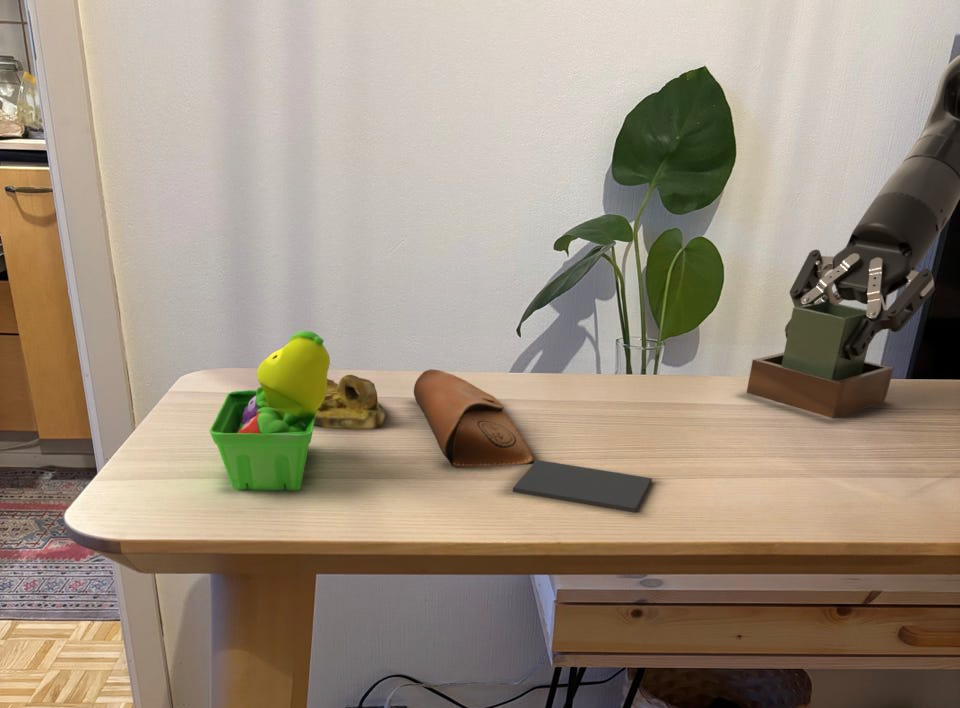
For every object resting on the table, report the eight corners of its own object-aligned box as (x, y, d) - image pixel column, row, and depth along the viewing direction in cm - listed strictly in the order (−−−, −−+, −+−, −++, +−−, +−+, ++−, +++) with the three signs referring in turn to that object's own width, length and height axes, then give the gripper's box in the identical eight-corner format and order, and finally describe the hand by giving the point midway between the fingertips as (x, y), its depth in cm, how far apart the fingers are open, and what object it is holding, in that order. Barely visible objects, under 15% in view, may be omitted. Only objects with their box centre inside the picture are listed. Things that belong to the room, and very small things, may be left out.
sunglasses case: (542, 460, 82) (507, 394, 78) (471, 502, 82) (434, 439, 79) (494, 398, 97) (463, 341, 93) (435, 434, 98) (402, 379, 94)
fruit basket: (233, 447, 83) (221, 313, 77) (336, 448, 84) (332, 316, 78) (214, 497, 73) (198, 348, 67) (330, 498, 74) (325, 351, 68)
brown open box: (799, 384, 109) (807, 346, 107) (883, 407, 102) (893, 368, 100) (745, 398, 103) (752, 359, 100) (831, 424, 96) (840, 383, 94)
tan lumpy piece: (238, 414, 94) (347, 449, 86) (229, 367, 91) (340, 399, 83) (307, 385, 100) (415, 415, 92) (300, 340, 97) (411, 367, 89)
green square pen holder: (806, 385, 106) (824, 301, 101) (855, 399, 102) (877, 312, 97) (775, 394, 102) (793, 307, 98) (825, 408, 98) (845, 318, 94)
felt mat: (651, 484, 80) (652, 477, 79) (635, 515, 74) (636, 508, 74) (536, 466, 82) (536, 459, 82) (512, 494, 76) (512, 487, 76)
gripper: (836, 182, 101) (749, 310, 100) (970, 198, 92) (875, 339, 91) (851, 233, 107) (768, 355, 106) (978, 253, 97) (888, 386, 97)
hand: (818, 347), depth 98 cm, fingers closed on green square pen holder, 6 cm apart
